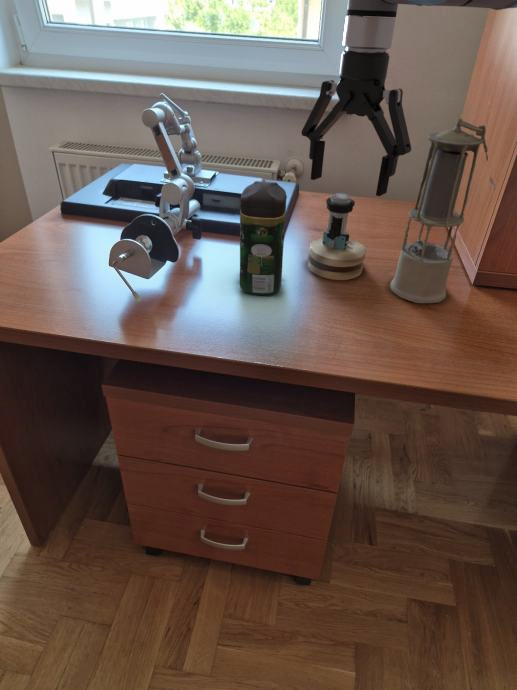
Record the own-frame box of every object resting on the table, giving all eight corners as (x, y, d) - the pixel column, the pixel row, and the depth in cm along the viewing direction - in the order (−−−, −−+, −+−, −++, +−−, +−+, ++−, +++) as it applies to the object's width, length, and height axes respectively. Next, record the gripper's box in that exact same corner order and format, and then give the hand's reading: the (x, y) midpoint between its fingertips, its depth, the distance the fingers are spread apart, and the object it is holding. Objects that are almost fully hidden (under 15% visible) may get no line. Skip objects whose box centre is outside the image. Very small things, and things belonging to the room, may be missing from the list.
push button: (358, 247, 95) (367, 197, 89) (345, 255, 91) (353, 204, 85) (329, 238, 98) (335, 189, 92) (316, 246, 94) (321, 196, 89)
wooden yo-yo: (372, 266, 98) (376, 246, 96) (345, 286, 91) (348, 265, 88) (325, 250, 104) (327, 230, 101) (295, 268, 96) (297, 247, 94)
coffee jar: (242, 271, 94) (244, 176, 83) (282, 274, 94) (289, 179, 83) (235, 295, 86) (236, 194, 76) (279, 299, 86) (286, 197, 75)
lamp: (387, 275, 95) (423, 111, 78) (453, 281, 94) (505, 116, 77) (393, 301, 87) (434, 124, 69) (466, 307, 86) (527, 129, 68)
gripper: (452, 55, 71) (420, 196, 84) (312, 44, 84) (302, 168, 96) (433, 57, 66) (402, 206, 79) (287, 45, 79) (280, 176, 91)
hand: (347, 186), depth 87 cm, fingers open, 13 cm apart
